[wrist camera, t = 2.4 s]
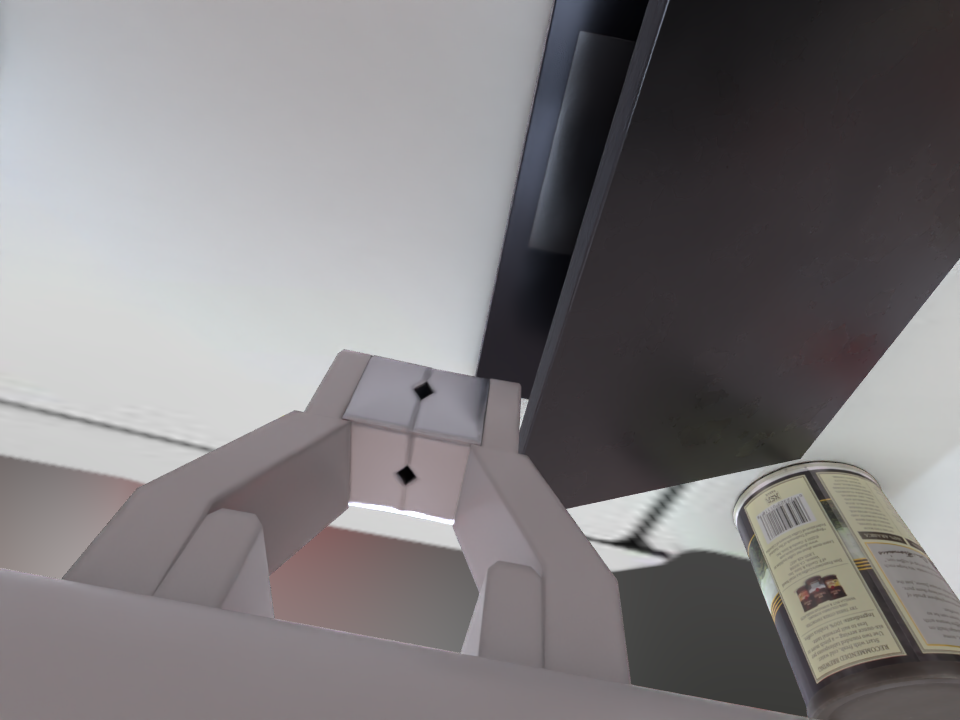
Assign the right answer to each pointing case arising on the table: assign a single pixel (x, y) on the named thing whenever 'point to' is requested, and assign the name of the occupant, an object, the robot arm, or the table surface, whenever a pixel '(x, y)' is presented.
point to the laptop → (556, 177)
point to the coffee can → (852, 596)
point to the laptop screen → (749, 238)
